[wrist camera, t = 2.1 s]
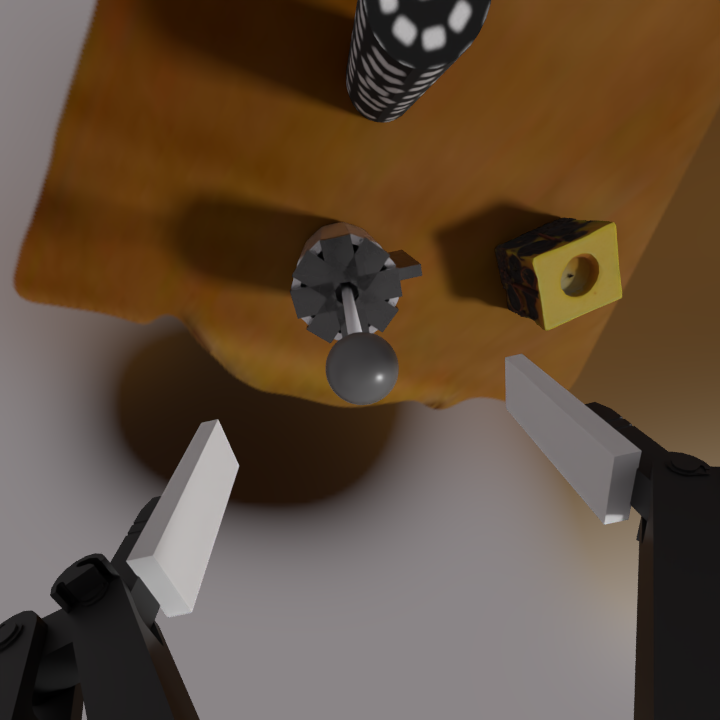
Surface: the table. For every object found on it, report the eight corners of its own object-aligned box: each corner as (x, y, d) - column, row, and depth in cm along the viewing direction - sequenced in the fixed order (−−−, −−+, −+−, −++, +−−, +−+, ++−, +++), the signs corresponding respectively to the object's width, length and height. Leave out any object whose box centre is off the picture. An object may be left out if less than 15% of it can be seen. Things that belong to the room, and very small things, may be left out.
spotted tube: (355, 130, 42) (377, 84, 24) (337, 41, 38) (347, -92, 20) (423, 112, 42) (497, 52, 24) (412, 21, 38) (489, -131, 20)
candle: (507, 310, 54) (544, 334, 45) (491, 246, 49) (528, 259, 40) (573, 282, 53) (624, 301, 44) (562, 215, 48) (617, 220, 39)
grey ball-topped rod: (302, 251, 38) (268, 332, 16) (371, 236, 38) (432, 297, 16) (319, 317, 41) (310, 459, 19) (382, 303, 41) (446, 430, 19)
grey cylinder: (293, 231, 46) (278, 250, 32) (392, 210, 46) (422, 218, 32) (313, 307, 51) (307, 353, 36) (403, 288, 51) (434, 326, 36)
